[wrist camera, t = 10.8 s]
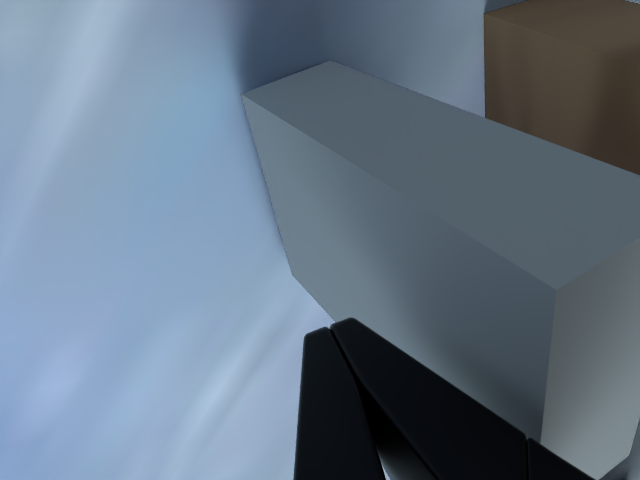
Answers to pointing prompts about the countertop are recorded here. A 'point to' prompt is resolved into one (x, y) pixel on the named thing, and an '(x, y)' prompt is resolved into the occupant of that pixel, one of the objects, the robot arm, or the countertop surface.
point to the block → (464, 250)
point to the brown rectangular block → (568, 75)
